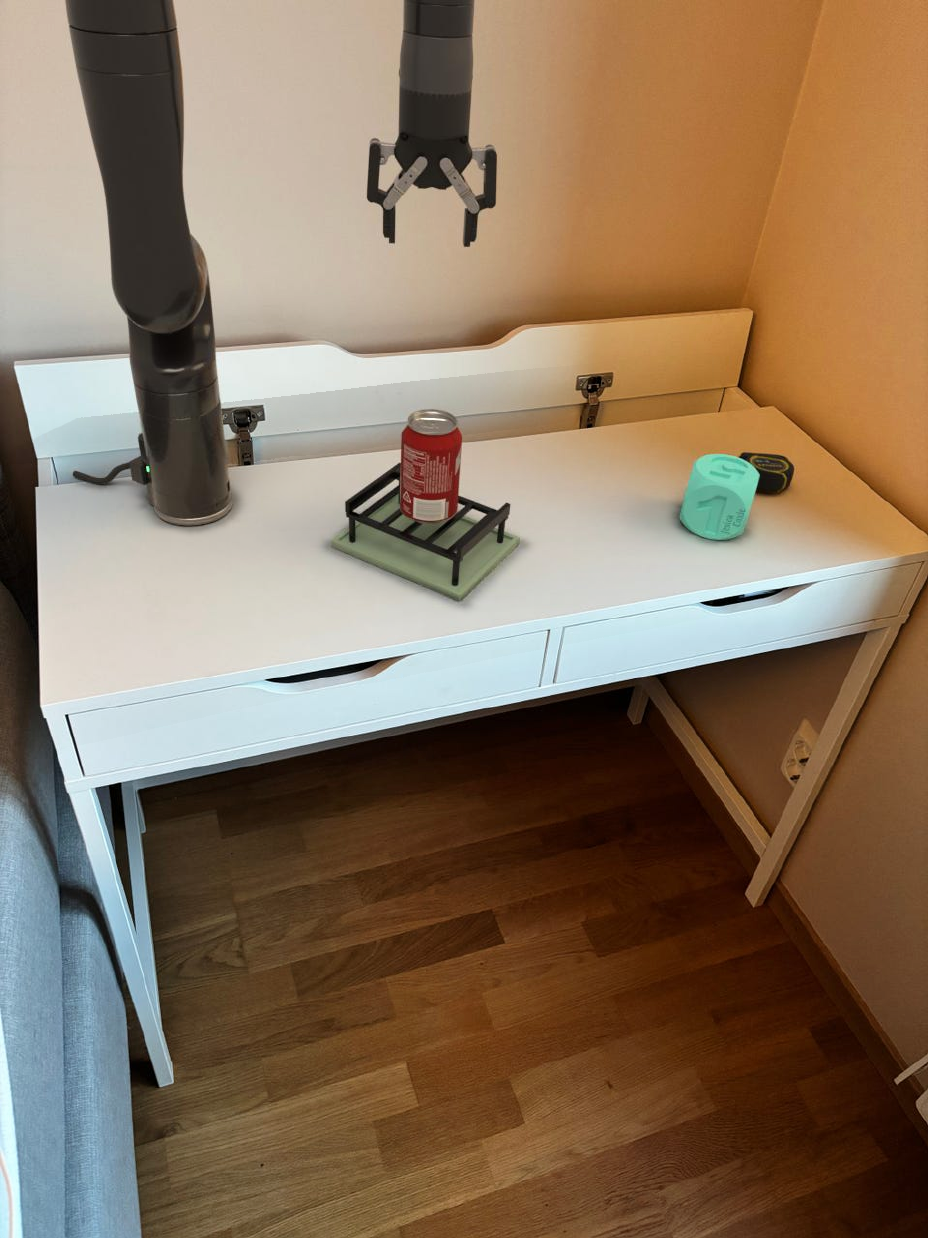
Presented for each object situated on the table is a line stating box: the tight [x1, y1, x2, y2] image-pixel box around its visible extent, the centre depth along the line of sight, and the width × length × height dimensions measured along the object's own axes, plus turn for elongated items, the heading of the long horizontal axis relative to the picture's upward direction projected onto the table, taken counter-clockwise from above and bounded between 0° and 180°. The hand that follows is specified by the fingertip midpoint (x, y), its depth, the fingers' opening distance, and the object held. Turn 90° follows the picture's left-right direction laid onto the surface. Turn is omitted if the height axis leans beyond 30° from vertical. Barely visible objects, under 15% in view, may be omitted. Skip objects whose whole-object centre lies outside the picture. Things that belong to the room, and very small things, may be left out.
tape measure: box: [737, 451, 795, 494], centre depth 128 cm, size 7×7×4 cm
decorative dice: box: [679, 453, 760, 541], centre depth 119 cm, size 8×8×8 cm
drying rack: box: [344, 462, 512, 586], centre depth 111 cm, size 16×11×6 cm
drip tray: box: [330, 494, 521, 603], centre depth 113 cm, size 18×14×1 cm
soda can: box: [400, 408, 463, 524], centre depth 107 cm, size 7×7×12 cm
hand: (429, 243), depth 108 cm, fingers open, 8 cm apart
